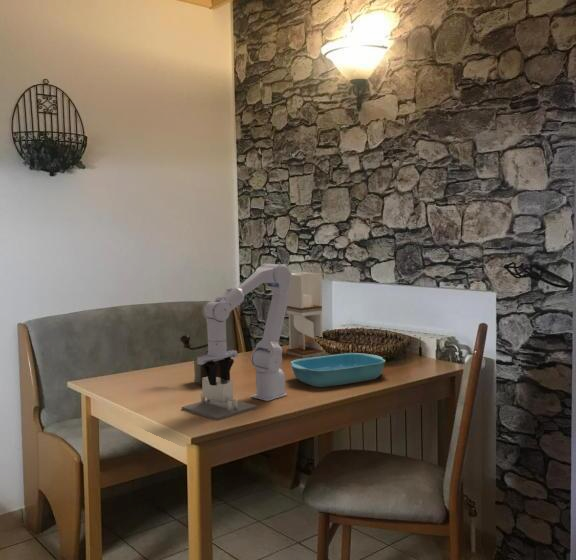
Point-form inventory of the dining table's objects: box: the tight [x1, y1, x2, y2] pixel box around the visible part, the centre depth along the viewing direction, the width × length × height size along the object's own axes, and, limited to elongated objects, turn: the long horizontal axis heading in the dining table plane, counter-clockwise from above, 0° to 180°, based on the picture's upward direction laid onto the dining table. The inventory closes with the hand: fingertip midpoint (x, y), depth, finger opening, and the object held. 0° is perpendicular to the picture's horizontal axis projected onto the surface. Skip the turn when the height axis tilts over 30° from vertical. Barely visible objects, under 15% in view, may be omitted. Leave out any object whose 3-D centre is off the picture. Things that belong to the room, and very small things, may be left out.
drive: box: [201, 377, 234, 403], centre depth 199 cm, size 4×10×6 cm, turn 46°
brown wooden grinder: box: [179, 334, 231, 387], centre depth 230 cm, size 16×11×18 cm
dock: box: [181, 393, 258, 421], centre depth 199 cm, size 16×17×4 cm
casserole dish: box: [290, 352, 386, 388], centre depth 234 cm, size 37×22×7 cm, turn 119°
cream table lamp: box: [286, 271, 324, 359], centre depth 277 cm, size 11×11×35 cm
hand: (218, 383), depth 199 cm, fingers closed on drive, 4 cm apart
